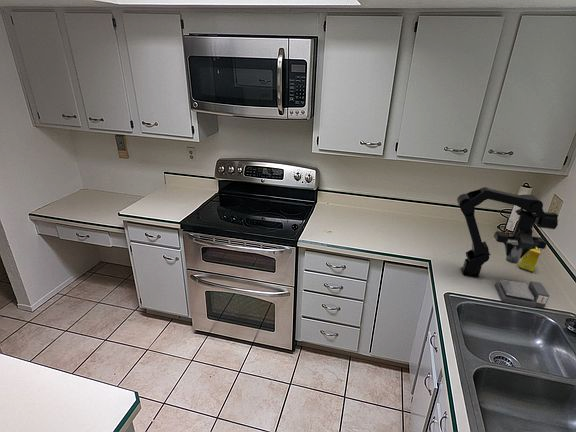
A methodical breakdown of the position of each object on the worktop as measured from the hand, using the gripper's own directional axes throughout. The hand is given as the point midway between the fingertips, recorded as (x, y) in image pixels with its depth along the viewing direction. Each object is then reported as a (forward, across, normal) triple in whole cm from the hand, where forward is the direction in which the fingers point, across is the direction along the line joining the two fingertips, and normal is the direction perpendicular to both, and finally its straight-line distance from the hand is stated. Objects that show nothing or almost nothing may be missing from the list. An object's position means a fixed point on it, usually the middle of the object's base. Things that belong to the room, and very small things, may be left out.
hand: (513, 256), depth 156 cm
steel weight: (+2, 0, 0) cm, 2 cm away
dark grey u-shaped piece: (+12, +2, -13) cm, 18 cm away
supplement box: (+12, +13, +14) cm, 23 cm away
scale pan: (+9, 0, -13) cm, 16 cm away
